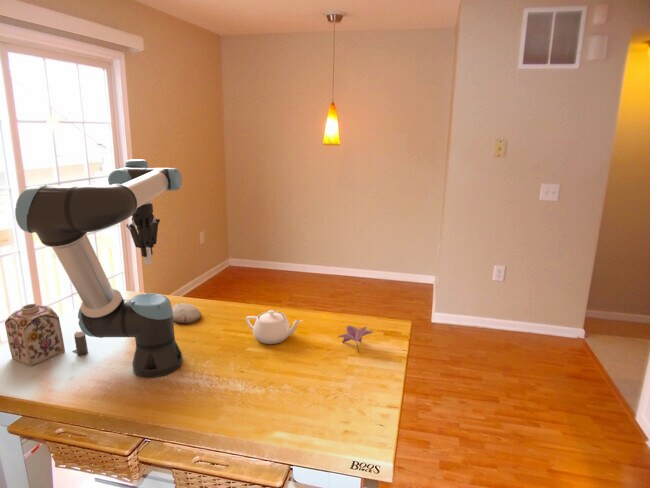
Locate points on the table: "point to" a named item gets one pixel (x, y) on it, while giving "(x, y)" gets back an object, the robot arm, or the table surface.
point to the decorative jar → (34, 334)
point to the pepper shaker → (81, 343)
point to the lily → (355, 334)
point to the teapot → (271, 327)
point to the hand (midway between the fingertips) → (148, 264)
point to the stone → (185, 313)
